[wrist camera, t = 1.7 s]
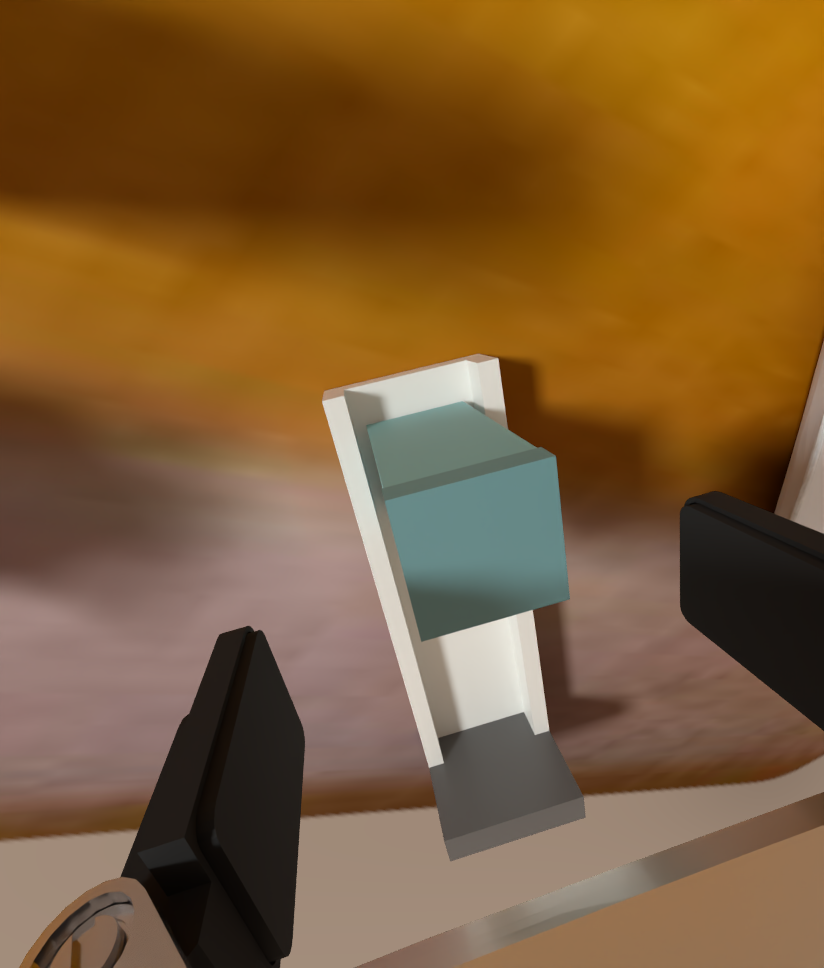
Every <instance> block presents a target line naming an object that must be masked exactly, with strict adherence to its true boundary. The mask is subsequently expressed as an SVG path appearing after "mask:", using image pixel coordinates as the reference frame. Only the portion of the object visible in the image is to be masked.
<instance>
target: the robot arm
mask: <svg viewBox="0 0 824 968" xmlns="http://www.w3.org/2000/svg"><path fill="white" fill-rule="evenodd" d="M680 607H681V611H682V614H683V615H684V617H685V619H686V620H687V621H688V622H689V623H690V624H691V625H693V626H694V627H695V628H696V629H698V630H699V631H700V632H701V633H703V634H704V635H705V636H706V637H708V638H709V639H710V640H711V641H712V642H714V643H715V644H716V645H717V646H719V647H720V648H721V649H722V650H724V651H725V652H726V653H727V654H729V655H730V656H731V657H732V658H734V659H735V660H736V661H737V662H739V663H740V664H741V665H742V666H744V667H745V668H746V669H747V670H749V671H750V672H751V673H752V674H754V675H755V676H756V677H757V678H759V679H760V680H761V681H762V682H764V683H765V684H766V685H767V686H769V687H770V688H771V689H772V690H774V691H775V692H776V693H777V694H779V695H780V696H781V697H782V698H784V699H785V700H786V701H787V702H789V703H790V704H791V705H792V706H794V707H795V708H796V709H797V710H798V711H800V712H801V713H802V714H803V715H805V716H806V717H807V718H808V719H810V720H811V721H812V722H813V723H815V724H816V725H817V726H818V727H820V728H821V729H822V730H823V731H824V534H823V533H821V532H818V531H816V530H813V529H811V528H808V527H806V526H803V525H801V524H798V523H796V522H793V521H791V520H789V519H786V518H784V517H781V516H779V515H776V514H774V513H771V512H769V511H766V510H764V509H761V508H759V507H756V506H754V505H751V504H749V503H746V502H744V501H741V500H739V499H736V498H734V497H731V496H729V495H726V494H724V493H721V492H717V491H714V492H709V493H706V494H702V495H699V496H695V497H692V498H689V499H688V500H687V501H686V503H685V506H684V507H683V508H682V509H681V511H680ZM304 751H305V737H304V731H303V727H302V724H301V721H300V719H299V717H298V714H297V712H296V709H295V707H294V705H293V702H292V700H291V697H290V695H289V693H288V690H287V688H286V685H285V683H284V681H283V678H282V676H281V673H280V671H279V668H278V666H277V664H276V661H275V659H274V656H273V654H272V652H271V649H270V647H269V644H268V642H267V640H266V637H265V635H264V633H263V632H262V631H261V630H258V631H255V632H254V630H253V629H252V628H251V627H250V626H246V627H243V628H239V629H236V630H232V631H229V632H225V633H222V634H220V635H219V637H218V638H217V641H216V644H215V646H214V649H213V652H212V654H211V657H210V660H209V663H208V665H207V668H206V671H205V673H204V676H203V679H202V681H201V684H200V687H199V689H198V692H197V695H196V697H195V700H194V703H193V705H192V708H191V711H190V713H189V714H188V715H187V716H186V717H185V718H183V720H182V722H181V724H180V725H179V728H178V730H177V733H176V735H175V738H174V740H173V743H172V746H171V748H170V751H169V753H168V756H167V758H166V761H165V764H164V766H163V769H162V771H161V774H160V777H159V779H158V782H157V784H156V787H155V789H154V792H153V795H152V797H151V800H150V802H149V805H148V807H147V810H146V813H145V815H144V818H143V820H142V823H141V825H140V828H139V831H138V833H137V836H136V838H135V841H134V843H133V846H132V849H131V851H130V854H129V856H128V859H127V861H126V864H125V867H124V869H123V872H122V874H121V877H120V878H117V879H113V880H108V881H105V882H103V883H101V884H99V885H97V886H96V887H94V888H92V889H90V890H88V891H86V892H85V893H84V894H82V895H81V896H80V897H79V898H77V899H76V900H75V901H74V902H72V903H71V904H70V905H68V906H67V907H66V908H65V909H64V910H63V911H62V912H61V913H60V914H59V915H58V916H57V917H56V918H55V919H54V920H53V921H52V923H51V924H49V925H48V927H47V928H46V929H45V930H44V931H43V933H42V934H41V935H40V937H39V938H38V939H37V941H36V942H35V943H34V945H33V946H32V947H31V949H30V950H29V952H28V953H27V954H26V956H25V958H24V960H23V962H22V964H21V965H20V967H19V968H280V960H281V958H284V957H287V956H289V954H290V951H291V947H292V939H293V924H294V908H295V892H296V891H295V890H296V877H297V876H296V875H297V860H298V845H299V829H300V814H301V798H302V782H303V766H304ZM355 968H824V792H823V793H820V794H817V795H814V796H812V797H809V798H806V799H803V800H801V801H798V802H795V803H792V804H790V805H787V806H784V807H782V808H779V809H776V810H773V811H771V812H768V813H765V814H762V815H760V816H757V817H754V818H751V819H749V820H746V821H743V822H740V823H738V824H735V825H732V826H729V827H727V828H724V829H721V830H719V831H716V832H713V833H710V834H708V835H705V836H702V837H699V838H697V839H694V840H691V841H689V842H686V843H683V844H680V845H678V846H675V847H672V848H670V849H667V850H664V851H661V852H659V853H656V854H653V855H650V856H648V857H645V858H642V859H640V860H637V861H634V862H631V863H629V864H626V865H623V866H620V867H618V868H615V869H612V870H610V871H607V872H604V873H602V874H599V875H596V876H594V877H591V878H588V879H586V880H583V881H580V882H578V883H575V884H572V885H569V886H567V887H564V888H561V889H559V890H556V891H553V892H551V893H548V894H546V895H543V896H540V897H537V898H535V899H532V900H529V901H527V902H524V903H522V904H519V905H516V906H513V907H511V908H508V909H505V910H503V911H500V912H497V913H495V914H492V915H489V916H486V917H484V918H481V919H478V920H476V921H473V922H470V923H468V924H465V925H462V926H460V927H457V928H455V929H452V930H449V931H446V932H444V933H441V934H439V935H436V936H433V937H430V938H428V939H425V940H423V941H420V942H418V943H415V944H413V945H410V946H408V947H405V948H403V949H400V950H398V951H395V952H393V953H390V954H388V955H385V956H383V957H380V958H377V959H375V960H373V961H370V962H367V963H365V964H362V965H360V966H357V967H355Z"/></svg>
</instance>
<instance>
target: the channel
mask: <svg viewBox="0 0 824 968" xmlns="http://www.w3.org/2000/svg"><path fill="white" fill-rule="evenodd" d="M461 401H463V402H465V403H466V404H468V405H470V406H471V407H473V408H474V409H476V410H478V411H479V412H481V413H482V414H484V415H486V416H487V417H489V418H490V419H492V420H494V421H495V422H497V423H498V424H500V425H502V426H503V427H505V428H506V429H508V426H507V419H506V411H505V404H504V397H503V389H502V382H501V375H500V368H499V360H498V358H495V357H491V356H486V355H481V354H475V355H471V356H467V357H463V358H459V359H454V360H450V361H446V362H442V363H438V364H434V365H430V366H426V367H421V368H417V369H413V370H409V371H405V372H401V373H397V374H393V375H388V376H384V377H380V378H376V379H372V380H368V381H364V382H360V383H356V384H351V385H347V386H343V387H339V388H335V389H331V390H327V391H324V394H323V399H322V402H323V406H324V409H325V413H326V416H327V420H328V423H329V426H330V430H331V433H332V437H333V440H334V443H335V447H336V450H337V454H338V457H339V461H340V464H341V467H342V471H343V474H344V478H345V481H346V485H347V488H348V491H349V495H350V498H351V502H352V505H353V508H354V512H355V515H356V519H357V522H358V526H359V529H360V532H361V536H362V539H363V543H364V546H365V550H366V553H367V556H368V560H369V563H370V567H371V570H372V574H373V577H374V580H375V584H376V587H377V591H378V594H379V597H380V601H381V604H382V608H383V611H384V615H385V618H386V621H387V625H388V628H389V632H390V635H391V639H392V642H393V645H394V649H395V652H396V656H397V659H398V662H399V666H400V669H401V673H402V676H403V680H404V683H405V686H406V690H407V693H408V697H409V700H410V704H411V707H412V710H413V714H414V717H415V721H416V724H417V727H418V731H419V734H420V738H421V741H422V745H423V748H424V751H425V755H426V758H427V762H428V765H429V769H430V774H431V779H432V784H433V788H434V793H435V798H436V803H437V808H438V813H439V818H440V822H441V827H442V832H443V837H444V842H445V845H446V848H447V852H448V855H449V858H450V861H453V860H456V859H459V858H462V857H465V856H468V855H471V854H474V853H478V852H481V851H484V850H487V849H490V848H493V847H496V846H499V845H502V844H505V843H508V842H511V841H514V840H518V839H521V838H523V837H527V836H530V835H533V834H536V833H539V832H542V831H545V830H548V829H551V828H554V827H558V826H560V825H564V824H567V823H570V822H573V821H576V820H579V819H582V818H585V808H584V797H583V795H582V793H581V791H580V789H579V787H578V785H577V783H576V781H575V779H574V777H573V775H572V774H571V772H570V770H569V768H568V766H567V764H566V762H565V760H564V758H563V756H562V754H561V752H560V750H559V748H558V747H557V745H556V743H555V741H554V739H553V737H552V735H551V733H550V731H549V725H548V718H547V710H546V703H545V696H544V688H543V681H542V674H541V667H540V659H539V652H538V645H537V637H536V630H535V623H534V616H533V610H531V611H527V612H524V613H520V614H517V615H513V616H510V617H506V618H503V619H499V620H496V621H492V622H489V623H485V624H482V625H478V626H475V627H472V628H468V629H465V630H461V631H458V632H454V633H451V634H447V635H444V636H440V637H437V638H433V639H430V640H426V641H423V642H421V639H420V635H419V631H418V627H417V623H416V620H415V616H414V612H413V608H412V604H411V601H410V597H409V593H408V589H407V585H406V581H405V578H404V574H403V570H402V566H401V562H400V558H399V555H398V551H397V547H396V543H395V539H394V535H393V532H392V528H391V524H390V520H389V516H388V513H387V509H386V505H385V501H384V497H383V493H382V490H381V489H382V485H381V481H380V477H379V473H378V469H377V465H376V462H375V458H374V454H373V450H372V446H371V442H370V439H369V435H368V431H367V427H366V425H369V424H373V423H377V422H381V421H385V420H389V419H393V418H397V417H401V416H405V415H409V414H413V413H417V412H421V411H425V410H429V409H433V408H437V407H441V406H445V405H449V404H453V403H457V402H461Z"/></svg>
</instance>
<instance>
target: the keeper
mask: <svg viewBox="0 0 824 968" xmlns="http://www.w3.org/2000/svg"><path fill="white" fill-rule="evenodd" d="M366 427H367V431H368V435H369V439H370V442H371V446H372V450H373V454H374V458H375V462H376V465H377V469H378V473H379V477H380V481H381V485H382V489H381V490H382V493H383V497H384V501H385V505H386V509H387V513H388V516H389V520H390V524H391V528H392V532H393V535H394V539H395V543H396V547H397V551H398V555H399V558H400V562H401V566H402V570H403V574H404V578H405V581H406V585H407V589H408V593H409V597H410V601H411V604H412V608H413V612H414V616H415V620H416V623H417V627H418V631H419V635H420V639H421V642H423V641H426V640H430V639H433V638H437V637H440V636H444V635H447V634H451V633H454V632H458V631H461V630H465V629H468V628H472V627H475V626H478V625H482V624H485V623H489V622H492V621H496V620H499V619H503V618H506V617H510V616H513V615H517V614H520V613H524V612H527V611H531V610H534V609H538V608H541V607H545V606H548V605H552V604H555V603H558V602H562V601H565V600H569V599H570V596H569V585H568V575H567V565H566V555H565V544H564V534H563V524H562V514H561V503H560V493H559V483H558V473H557V462H556V456H555V455H554V454H552V453H550V452H549V451H547V450H545V449H544V448H542V447H539V448H537V447H535V446H533V445H532V444H530V443H529V442H527V441H525V440H524V439H522V438H521V437H519V436H517V435H516V434H514V433H513V432H511V431H509V430H508V429H506V428H505V427H503V426H502V425H500V424H498V423H497V422H495V421H494V420H492V419H490V418H489V417H487V416H486V415H484V414H482V413H481V412H479V411H478V410H476V409H474V408H473V407H471V406H470V405H468V404H466V403H465V402H463V401H461V402H457V403H453V404H449V405H445V406H441V407H437V408H433V409H429V410H425V411H421V412H417V413H413V414H409V415H405V416H401V417H397V418H393V419H389V420H385V421H381V422H377V423H373V424H369V425H366Z"/></svg>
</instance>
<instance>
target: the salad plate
mask: <svg viewBox="0 0 824 968" xmlns="http://www.w3.org/2000/svg"><path fill="white" fill-rule="evenodd" d="M774 514H776V515H779V516H781V517H784V518H786V519H789V520H791V521H793V522H796V523H798V524H801V525H803V526H806V527H808V528H811V529H813V530H816V531H818V532H821V533H823V534H824V341H823V345H822V348H821V352H820V355H819V359H818V363H817V366H816V370H815V373H814V377H813V381H812V384H811V388H810V392H809V395H808V399H807V403H806V406H805V410H804V414H803V417H802V421H801V425H800V428H799V431H798V435H797V438H796V442H795V445H794V449H793V452H792V456H791V459H790V463H789V466H788V470H787V473H786V476H785V479H784V483H783V486H782V489H781V493H780V496H779V499H778V502H777V506H776V509H775V512H774Z"/></svg>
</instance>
